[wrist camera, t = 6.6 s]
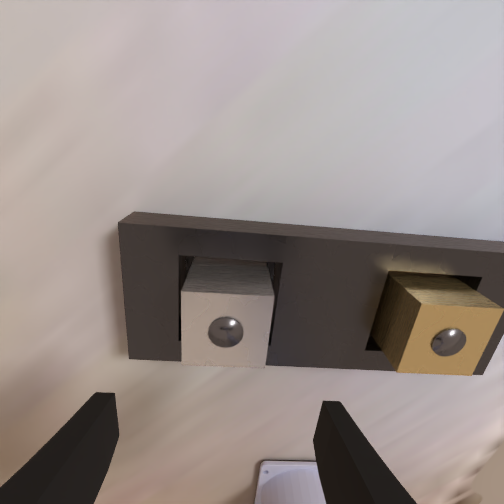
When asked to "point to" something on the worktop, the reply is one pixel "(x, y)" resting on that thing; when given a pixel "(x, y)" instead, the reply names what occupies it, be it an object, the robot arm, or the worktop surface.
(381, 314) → the yellow block with knob
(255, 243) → the dark grey socket board
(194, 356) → the cube with round knob
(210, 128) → the worktop surface
